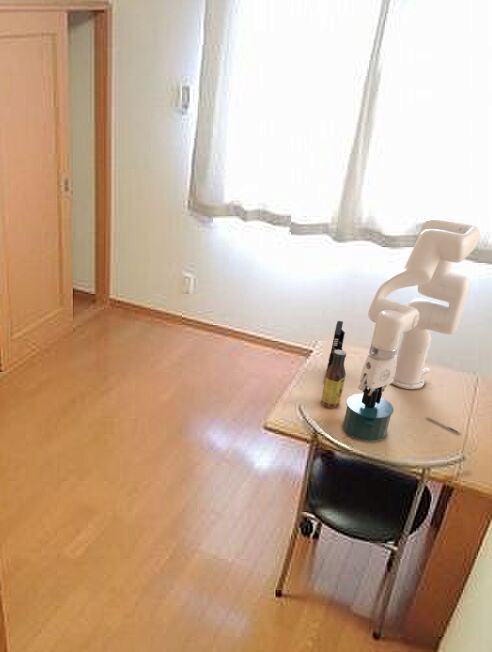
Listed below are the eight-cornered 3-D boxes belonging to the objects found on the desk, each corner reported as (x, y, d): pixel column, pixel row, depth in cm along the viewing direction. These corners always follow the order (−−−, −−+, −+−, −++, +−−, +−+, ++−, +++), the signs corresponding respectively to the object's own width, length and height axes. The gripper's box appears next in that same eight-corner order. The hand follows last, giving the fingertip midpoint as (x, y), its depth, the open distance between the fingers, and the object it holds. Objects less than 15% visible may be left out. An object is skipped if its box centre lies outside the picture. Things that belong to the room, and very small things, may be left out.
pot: (385, 418, 216) (390, 395, 212) (385, 450, 201) (392, 426, 196) (344, 411, 219) (348, 388, 215) (341, 442, 204) (347, 418, 199)
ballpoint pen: (458, 434, 210) (459, 431, 209) (457, 434, 209) (458, 432, 209) (428, 419, 217) (429, 417, 216) (427, 420, 216) (428, 417, 216)
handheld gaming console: (326, 368, 245) (336, 320, 234) (339, 371, 243) (349, 322, 233) (323, 383, 235) (333, 334, 225) (336, 386, 234) (346, 336, 223)
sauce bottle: (340, 410, 220) (351, 358, 210) (321, 407, 221) (331, 356, 211) (339, 400, 226) (349, 349, 215) (320, 398, 227) (330, 347, 216)
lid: (392, 400, 210) (397, 381, 206) (393, 424, 198) (398, 404, 194) (346, 393, 213) (350, 374, 210) (345, 415, 202) (349, 396, 198)
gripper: (371, 362, 189) (359, 415, 198) (412, 350, 196) (398, 402, 205) (353, 351, 195) (342, 403, 204) (393, 340, 202) (380, 391, 211)
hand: (370, 402), depth 205 cm, fingers open, 3 cm apart
